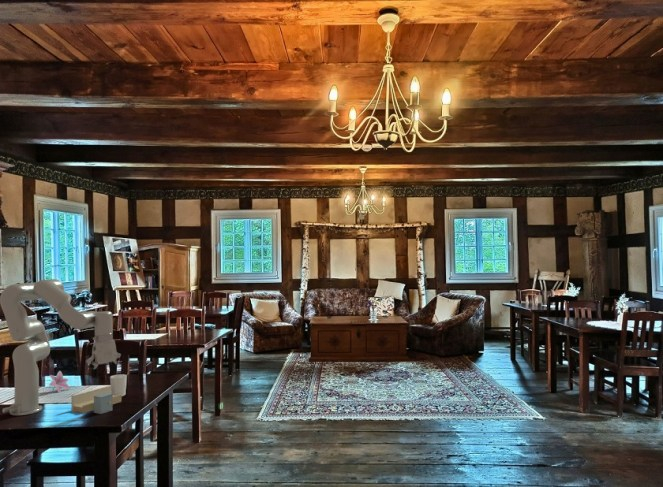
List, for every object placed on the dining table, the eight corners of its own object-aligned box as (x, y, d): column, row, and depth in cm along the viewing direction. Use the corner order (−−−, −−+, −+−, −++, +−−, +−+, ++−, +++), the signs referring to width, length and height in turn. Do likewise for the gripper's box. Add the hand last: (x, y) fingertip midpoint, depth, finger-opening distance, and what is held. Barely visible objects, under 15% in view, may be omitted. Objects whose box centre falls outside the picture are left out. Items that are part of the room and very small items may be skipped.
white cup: (108, 398, 238) (108, 378, 239) (111, 394, 246) (111, 375, 246) (125, 396, 240) (125, 377, 241) (127, 392, 248) (127, 373, 249)
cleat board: (83, 413, 214) (83, 397, 214) (71, 410, 218) (71, 395, 219) (121, 401, 232) (121, 387, 232) (109, 399, 236) (109, 385, 236)
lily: (44, 397, 247) (53, 381, 247) (40, 384, 255) (48, 369, 255) (67, 399, 255) (75, 383, 255) (62, 387, 264) (70, 372, 263)
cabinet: (101, 414, 213) (101, 397, 213) (93, 412, 215) (93, 395, 216) (113, 410, 218) (113, 393, 218) (105, 408, 221) (105, 392, 221)
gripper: (91, 341, 209) (92, 380, 208) (125, 335, 224) (125, 371, 223) (81, 340, 212) (81, 378, 212) (114, 335, 228) (115, 370, 227)
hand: (104, 375), depth 217 cm, fingers open, 9 cm apart
